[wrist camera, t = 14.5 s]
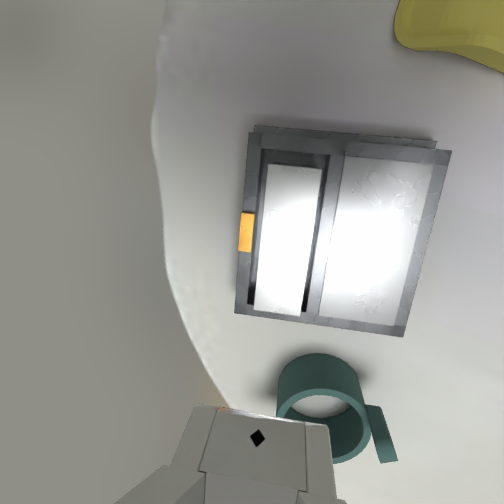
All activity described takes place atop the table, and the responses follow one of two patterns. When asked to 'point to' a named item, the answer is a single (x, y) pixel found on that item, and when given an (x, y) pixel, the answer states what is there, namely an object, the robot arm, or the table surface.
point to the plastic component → (454, 28)
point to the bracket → (343, 387)
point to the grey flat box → (349, 224)
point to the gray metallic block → (286, 236)
